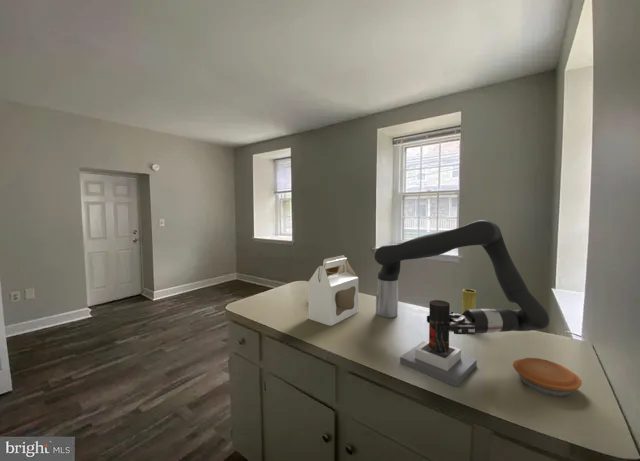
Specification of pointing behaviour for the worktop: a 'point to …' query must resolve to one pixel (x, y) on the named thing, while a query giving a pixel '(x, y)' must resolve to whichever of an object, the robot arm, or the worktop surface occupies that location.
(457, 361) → the grey white socket base
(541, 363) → the pie
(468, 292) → the vase
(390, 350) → the worktop surface
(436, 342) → the deodorant
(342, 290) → the gable box
